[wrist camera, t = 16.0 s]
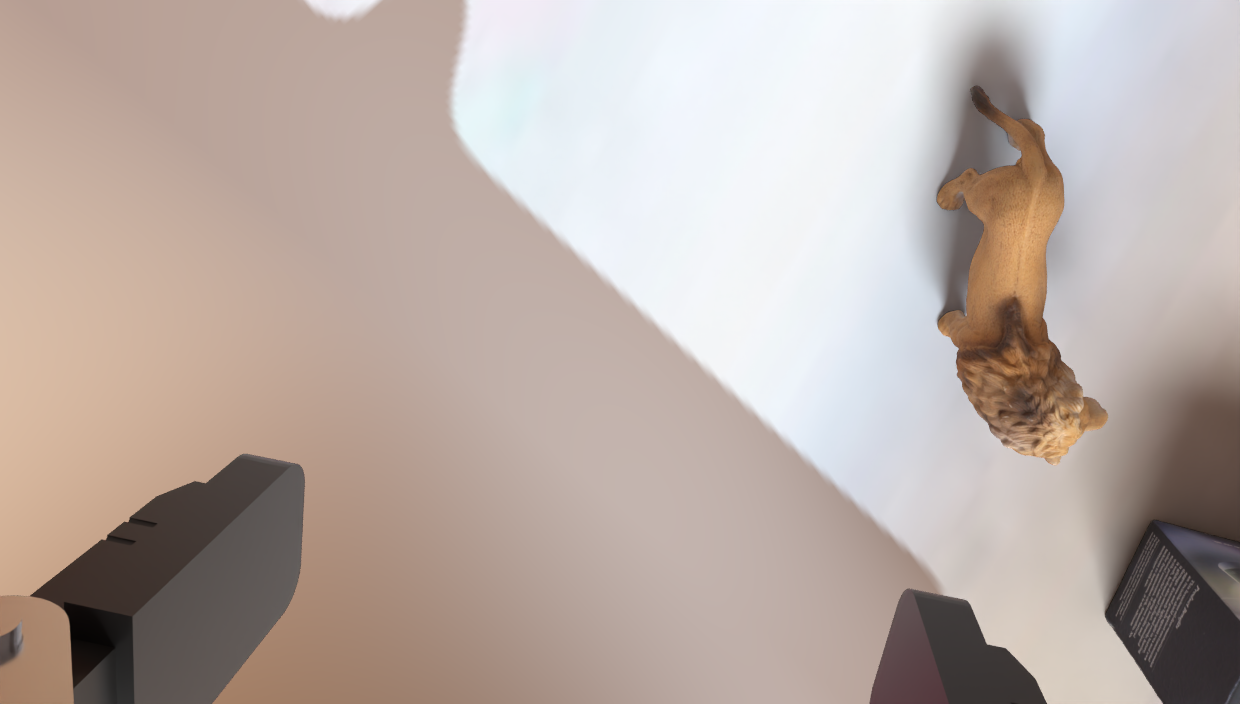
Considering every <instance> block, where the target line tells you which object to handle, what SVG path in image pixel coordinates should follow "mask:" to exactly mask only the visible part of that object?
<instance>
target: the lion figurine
mask: <svg viewBox="0 0 1240 704" xmlns="http://www.w3.org/2000/svg"><path fill="white" fill-rule="evenodd" d="M970 90H971V94H972V100H973V103H974V105H975V106H976V108H977V109H978V111H979V112H981V113H982V114H983V115H985V116H986V117H987V118H988V119H989V120H991V121H993V122H994V123H996V124H997V125H999V126H1000V127H1001V128H1003V129H1004V130H1005V131H1006V132H1007V133H1008V138H1009V143H1010V145H1011V146H1012V147H1014V148H1016V149H1017V150H1021V153H1022V157H1021V158H1020V159H1018V161H1017V163H1016V165H1014V166H1003V167H999V168H995V169H993V170H991V171H988V172H986V173H984V174H982V175H979V174H978V173H977V171H976V170H975V169H973V168H969V169H967V170H966V171H964V172H963V173H962V174H961V175H960V176H959V177H957V178H956V179H954V180H951V181H950V182H948V183H946V184H945V185H944V186H943V187H942V189H941V190H940V191H939V193H938V196H937V203H938V204H939V206H940V207H941V208H942V209H946V210H957V209H959V208H960V207H961V206H962V204H963V203H964V199H965V201H966V204H967V207H968V209H969V210H970V211H971V212H972V213H973V214H975V215H976V216H977V217H978V218H979V219H980V220H981V221H982V222H983V223H984V231H983V234H982V238H981V240H980V242H979V245H978V247H977V249H976V252H975V254H974V256H973V259H972V261H971V265H970V270H969V278H968V292H967V299H966V310H967V316H965V315H964V313H963V312H962V311H960V310H956V311H951V312H948V313H946V314H945V315H944V316H943V317H941V319H940V320H939V322H938V329H939V330H940V331H941V333H942V334H943V335H945V336H948V337H950V338H951V340H952V342H953V344H954V345H955V346H956V347H958V348H959V350H958V352H957V359H956V364H957V370H958V373H957V377H958V378H960V380H961V381H962V387H963V390H964V392H965V393H966V394H967V395H968V399H969V401H970V402H971V403H972V404H973V405H974V408H975V410H976V411H977V413H978V414H979V415H980V417H981V418H983V419H984V420H985V421H986V422H987V423H988V425H989V428H990V431H991V432H992V434H993V435H995V436H996V437H997V438H999V439H1000V440H1001V442H1002V444H1003V445H1004V446H1005V447H1007V448H1012V449H1013V450H1015V451H1016V452H1018V453H1020V454H1022V455H1031V456H1035V457H1041V458H1045V460H1046V461H1047V462H1048V463H1050V464H1052V465H1055V466H1056V465H1058V464H1059V463H1060V459H1061V456H1063V455H1066V454H1067V453H1068V450H1069V447H1070V446H1072V445H1073V444H1075V443H1076V441H1077V439H1079V438H1080V437H1081V436H1082V434H1083V433H1084V431H1090V430H1096V429H1099V428H1102V427H1103V425H1104V424H1105V423H1106V421H1107V419H1108V414H1107V412H1106V410H1105V409H1103V408H1102V407H1101V406H1100V404H1099V403H1098V402H1097V401H1096V400H1095V399H1092V398H1089V397H1083V389H1082V386H1080V385H1079V384H1077V382H1076V381H1075V375H1074V372H1073V370H1072V369H1071V368H1069V367H1068V366H1067V365H1066V364H1065V363H1064V362H1062V361H1061V355H1060V351H1059V350H1058V348H1057V347H1056V345H1055V344H1054V343H1053V342H1051V341H1050V340H1049V339H1048V333H1047V325H1046V322H1045V320H1044V319H1043V318H1042V317H1043V311H1044V306H1045V300H1046V293H1047V269H1046V245H1047V242H1048V239H1049V237H1050V235H1051V233H1052V231H1053V229H1054V227H1055V226H1056V224H1057V222H1058V220H1059V218H1060V216H1061V214H1062V212H1063V209H1064V185H1063V178H1062V175H1061V173H1060V171H1059V169H1058V168H1057V167H1056V166H1055V165H1054V164H1053V162H1052V160H1051V159H1050V157H1049V156H1048V154H1047V152H1046V149H1045V142H1044V139H1045V134H1044V131H1043V129H1042V128H1041V127H1040V126H1039V125H1038V124H1036V123H1035V122H1033V121H1032V120H1030V119H1019V120H1017V121H1016V120H1014V119H1012V118H1010V117H1009V116H1007V115H1006V114H1004V113H1003V112H1001V111H1000V110H998V109H997V108H995V107H994V106H993V105H992V104H991V102H990V100H989V97H988V96H987V95H986V94H985V92H984V91H983V89H982V88H980V87H979V86H974V87H972V88H971V89H970Z"/></svg>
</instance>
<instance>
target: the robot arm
mask: <svg viewBox="0 0 1240 704" xmlns="http://www.w3.org/2000/svg"><path fill="white" fill-rule="evenodd" d="M304 487H305V479H304V472H303V469H302V467H301V466H300V465H298V464H295V463H290V462H285V461H280V460H275V459H270V458H265V457H260V456H254V455H250V454H242V455H240V456H239V457H237V458H236V459H235V460H233V461H232V462H231V463H230V464H229V465H228V466H226V467H225V468H224V469H223V470H221V471H220V472H219V473H218V474H217V475H215V476H214V477H213V478H212V479H211V480H209V481H208V482H207V483H201V482H196V481H195V482H192V483H190V484H187V485H184V486H182V487H179V488H177V489H174V490H172V491H169V492H167V493H164V494H162V495H159V496H157V497H155V498H154V499H153V500H152V501H150V502H149V503H148V504H146V505H145V506H144V507H143V508H141V509H140V510H139V511H138V512H136V513H135V514H134V515H132V516H131V517H130V520H129V522H123V523H122V524H121V525H120V526H118V527H117V528H116V529H115V530H113V531H112V532H111V533H109V534H108V535H107V539H106V540H101V541H99V542H98V543H97V544H95V545H94V546H93V547H92V548H90V549H89V550H88V551H87V552H85V553H84V554H83V555H81V556H80V557H79V558H78V559H76V560H75V561H74V562H73V563H71V564H70V565H69V566H67V567H66V568H65V569H63V570H62V571H61V572H60V573H59V574H57V575H56V576H55V577H53V578H52V579H51V580H50V581H48V582H47V583H46V584H44V585H43V586H42V587H41V588H39V589H38V590H37V591H36V592H34V593H33V594H32V595H30V596H18V595H17V596H15V595H13V596H0V704H212V703H213V702H214V700H215V699H216V698H217V697H218V695H219V694H220V693H221V692H222V690H223V689H224V688H225V687H226V685H227V684H228V683H229V682H230V680H231V679H232V678H233V676H234V675H235V674H236V673H237V671H238V670H239V669H240V668H241V666H242V665H243V664H244V662H245V661H246V660H247V659H248V658H249V656H250V655H251V654H252V653H253V651H254V650H255V649H256V647H257V646H258V645H259V644H260V642H261V641H262V640H263V639H264V637H265V636H266V635H267V634H268V632H269V631H270V630H271V629H272V627H273V626H274V625H275V624H276V622H277V621H278V619H280V617H281V616H282V615H283V613H284V612H285V611H286V609H287V607H288V605H289V603H290V601H291V599H292V597H293V595H294V592H295V589H296V585H297V582H298V578H299V574H300V567H301V549H302V528H303V507H304ZM870 704H1047V703H1046V701H1045V699H1044V696H1043V694H1042V692H1041V690H1040V688H1039V686H1038V684H1037V681H1036V679H1035V678H1034V677H1033V676H1032V675H1031V674H1030V673H1029V672H1028V671H1027V670H1026V669H1025V668H1024V667H1023V666H1022V665H1021V664H1020V663H1019V661H1018V660H1017V659H1016V658H1015V657H1014V656H1013V655H1012V654H1011V653H1010V652H1009V651H1008V650H1007V649H1006V648H1002V647H997V646H992V645H987V644H986V642H985V639H984V637H983V634H982V632H981V629H980V627H979V625H978V622H977V620H976V617H975V615H974V613H973V610H972V608H971V606H970V604H969V602H968V601H966V600H963V599H958V598H953V597H948V596H943V595H938V594H933V593H928V592H923V591H918V590H913V589H906V590H905V591H904V592H903V594H902V595H901V598H900V600H899V602H898V605H897V608H896V612H895V615H894V618H893V622H892V625H891V628H890V631H889V635H888V638H887V641H886V645H885V648H884V651H883V655H882V658H881V661H880V665H879V668H878V671H877V674H876V678H875V681H874V685H873V688H872V693H871V698H870Z"/></svg>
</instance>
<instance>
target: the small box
mask: <svg viewBox="0 0 1240 704" xmlns="http://www.w3.org/2000/svg"><path fill="white" fill-rule="evenodd" d="M1105 618H1106V620H1107V622H1108V623H1109V625H1110V626H1111V627H1112V628H1113V630H1114V631H1115V632H1116V634H1117V636H1118V637H1119V638H1120V640H1121V641H1122V642H1123V644H1124V645H1125V647H1126V648H1127V650H1128V652H1129V653H1130V655H1131V656H1132V657H1133V658H1134V660H1135V662H1136V664H1137V665H1138V667H1139V668H1140V670H1141V671H1142V672H1143V674H1144V676H1145V677H1146V679H1147V680H1148V682H1149V683H1150V685H1151V686H1152V688H1153V689H1154V691H1155V693H1156V694H1157V696H1158V697H1159V698H1160V700H1161V701H1162V703H1163V704H1240V542H1236V541H1232V540H1228V539H1225V538H1221V537H1217V536H1213V535H1209V534H1205V533H1202V532H1198V531H1195V530H1191V529H1187V528H1183V527H1179V526H1176V525H1172V524H1169V523H1165V522H1161V521H1158V520H1153V521H1152V522H1151V523H1150V525H1149V527H1148V529H1147V531H1146V533H1145V535H1144V537H1143V539H1142V541H1141V543H1140V545H1139V547H1138V549H1137V551H1136V553H1135V555H1134V557H1133V559H1132V561H1131V563H1130V565H1129V567H1128V569H1127V571H1126V573H1125V576H1124V578H1123V580H1122V582H1121V584H1120V586H1119V588H1118V590H1117V592H1116V594H1115V596H1114V598H1113V600H1112V603H1111V605H1110V607H1109V609H1108V611H1107V613H1106V616H1105Z"/></svg>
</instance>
